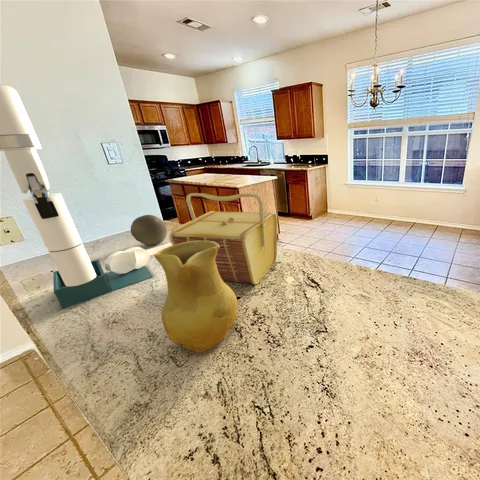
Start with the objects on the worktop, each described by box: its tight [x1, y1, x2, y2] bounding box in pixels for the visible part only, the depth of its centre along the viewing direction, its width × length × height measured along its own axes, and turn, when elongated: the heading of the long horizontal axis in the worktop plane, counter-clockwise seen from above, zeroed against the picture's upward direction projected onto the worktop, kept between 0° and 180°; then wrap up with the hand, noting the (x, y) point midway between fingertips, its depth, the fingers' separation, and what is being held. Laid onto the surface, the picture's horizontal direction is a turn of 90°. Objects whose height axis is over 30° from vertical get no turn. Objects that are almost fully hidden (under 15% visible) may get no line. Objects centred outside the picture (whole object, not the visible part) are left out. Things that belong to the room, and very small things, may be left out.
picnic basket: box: [168, 192, 278, 286], centre depth 94 cm, size 29×26×30 cm
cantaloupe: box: [130, 214, 168, 246], centre depth 126 cm, size 14×14×15 cm
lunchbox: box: [52, 259, 154, 309], centre depth 95 cm, size 25×18×7 cm
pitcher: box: [153, 240, 239, 353], centre depth 65 cm, size 17×19×25 cm
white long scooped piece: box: [103, 242, 172, 274], centre depth 112 cm, size 38×8×4 cm
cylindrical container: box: [22, 192, 96, 286], centre depth 73 cm, size 7×7×25 cm
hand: (50, 214), depth 70 cm, fingers closed on cylindrical container, 7 cm apart
